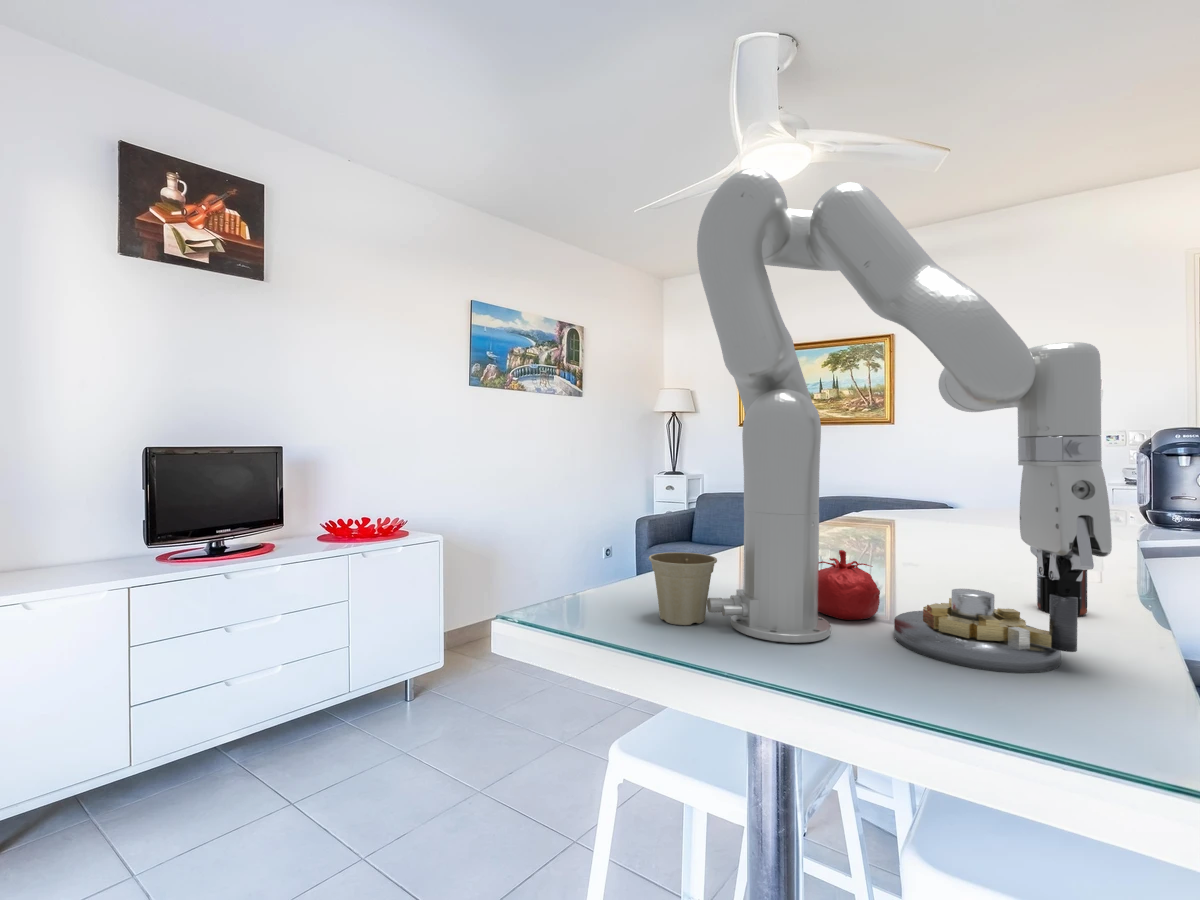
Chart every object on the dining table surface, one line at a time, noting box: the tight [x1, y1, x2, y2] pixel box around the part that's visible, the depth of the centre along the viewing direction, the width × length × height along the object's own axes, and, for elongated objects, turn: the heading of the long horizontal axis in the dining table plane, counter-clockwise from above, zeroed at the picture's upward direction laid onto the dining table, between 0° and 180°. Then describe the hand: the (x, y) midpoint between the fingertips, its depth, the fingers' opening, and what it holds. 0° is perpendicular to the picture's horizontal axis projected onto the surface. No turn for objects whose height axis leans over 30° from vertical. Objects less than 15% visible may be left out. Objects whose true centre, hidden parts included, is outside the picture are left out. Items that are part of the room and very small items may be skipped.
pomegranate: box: [818, 549, 881, 621], centre depth 84 cm, size 10×10×9 cm
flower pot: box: [648, 551, 718, 626], centre depth 81 cm, size 9×9×9 cm
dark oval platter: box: [893, 588, 1062, 674], centre depth 71 cm, size 17×17×6 cm
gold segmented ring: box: [922, 593, 1079, 653], centre depth 69 cm, size 15×10×6 cm, turn 36°
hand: (1060, 613), depth 67 cm, fingers closed
